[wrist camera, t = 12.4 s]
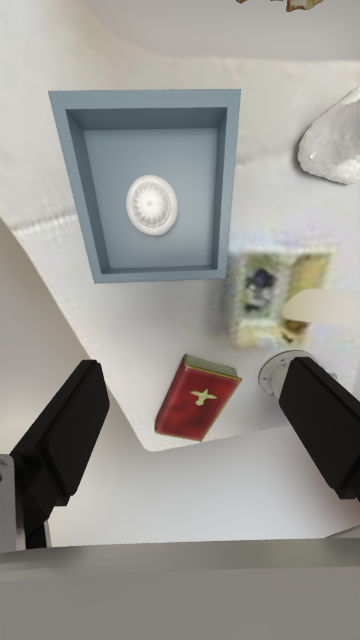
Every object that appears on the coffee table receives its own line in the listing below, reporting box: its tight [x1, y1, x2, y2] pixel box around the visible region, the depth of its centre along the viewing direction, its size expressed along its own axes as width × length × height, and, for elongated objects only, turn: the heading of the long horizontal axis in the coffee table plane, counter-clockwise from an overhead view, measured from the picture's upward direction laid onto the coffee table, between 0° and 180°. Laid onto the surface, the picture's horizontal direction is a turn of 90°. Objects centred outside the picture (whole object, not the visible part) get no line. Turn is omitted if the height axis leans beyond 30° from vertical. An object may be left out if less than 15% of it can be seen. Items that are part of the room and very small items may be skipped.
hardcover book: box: [154, 354, 242, 442], centre depth 40 cm, size 12×21×4 cm, turn 160°
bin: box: [48, 89, 241, 284], centre depth 23 cm, size 18×18×5 cm
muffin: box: [126, 175, 178, 236], centre depth 21 cm, size 6×6×7 cm
